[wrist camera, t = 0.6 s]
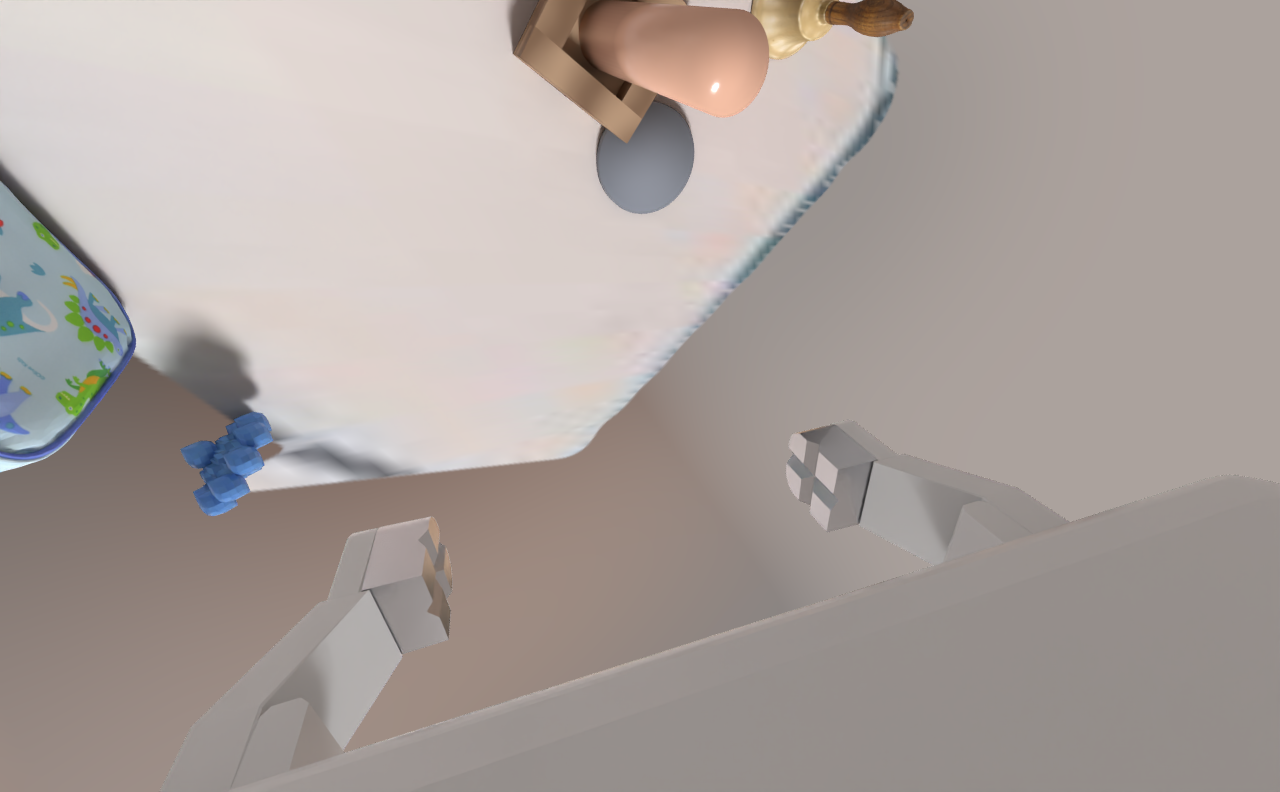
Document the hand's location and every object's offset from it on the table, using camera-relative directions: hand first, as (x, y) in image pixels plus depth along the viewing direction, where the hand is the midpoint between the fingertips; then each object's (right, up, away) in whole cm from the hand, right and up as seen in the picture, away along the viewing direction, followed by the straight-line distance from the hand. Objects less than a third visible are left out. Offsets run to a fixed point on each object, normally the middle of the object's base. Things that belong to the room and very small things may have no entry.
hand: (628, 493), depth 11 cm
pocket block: (-3, +35, +33) cm, 49 cm away
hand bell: (+15, +41, +38) cm, 58 cm away
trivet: (+1, +28, +42) cm, 50 cm away
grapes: (-44, -1, +42) cm, 61 cm away
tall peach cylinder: (-3, +35, +33) cm, 48 cm away
